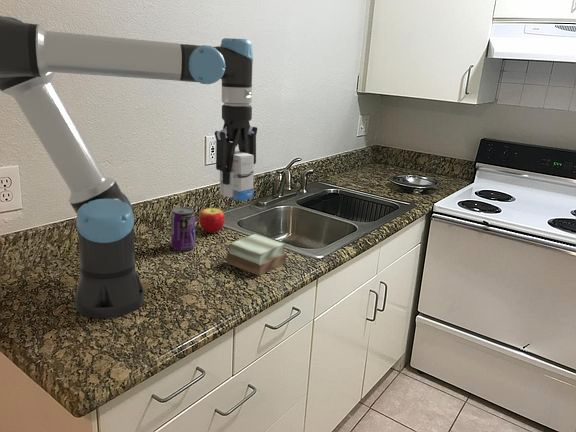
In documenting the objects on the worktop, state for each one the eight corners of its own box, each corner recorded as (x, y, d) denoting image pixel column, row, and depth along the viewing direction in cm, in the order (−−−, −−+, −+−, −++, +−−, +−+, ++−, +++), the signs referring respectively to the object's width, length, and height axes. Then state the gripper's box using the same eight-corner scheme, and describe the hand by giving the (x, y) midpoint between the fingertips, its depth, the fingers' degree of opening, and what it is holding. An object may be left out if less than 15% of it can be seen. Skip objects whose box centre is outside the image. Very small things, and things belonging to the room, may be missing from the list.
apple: (220, 226, 166) (221, 198, 163) (227, 235, 159) (227, 206, 156) (196, 228, 163) (196, 199, 160) (202, 236, 156) (202, 207, 153)
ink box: (254, 198, 128) (254, 154, 124) (240, 201, 124) (240, 156, 120) (233, 191, 133) (233, 148, 129) (219, 194, 130) (218, 151, 126)
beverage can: (189, 253, 142) (189, 215, 139) (167, 250, 144) (166, 212, 140) (198, 245, 149) (199, 208, 145) (177, 242, 150) (176, 205, 146)
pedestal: (259, 275, 131) (260, 255, 129) (226, 263, 138) (227, 243, 136) (285, 262, 140) (286, 243, 139) (254, 251, 147) (254, 232, 145)
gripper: (221, 108, 112) (222, 204, 119) (271, 103, 126) (269, 189, 133) (199, 105, 116) (201, 197, 124) (249, 100, 130) (248, 184, 137)
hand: (236, 193), depth 128 cm, fingers closed on ink box, 5 cm apart
